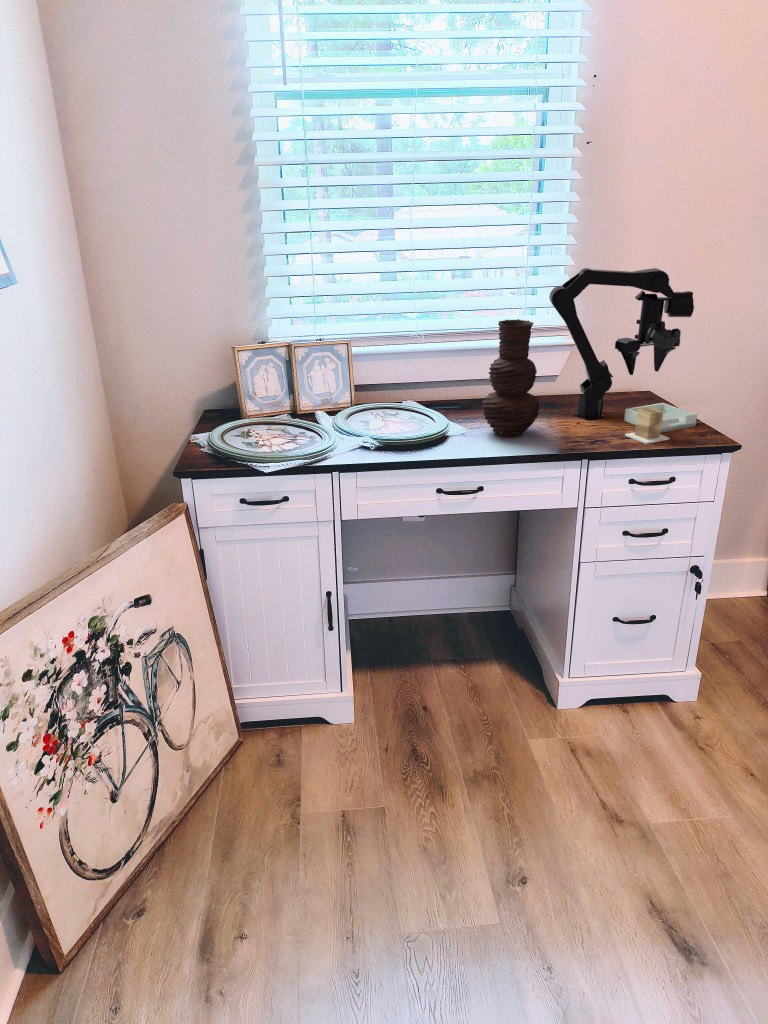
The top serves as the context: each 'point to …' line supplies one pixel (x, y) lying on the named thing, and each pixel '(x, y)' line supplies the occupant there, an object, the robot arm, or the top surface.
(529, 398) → the vase
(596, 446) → the top surface
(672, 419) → the pale green shallow tray
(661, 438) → the pad
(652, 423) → the oak block
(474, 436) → the top surface
